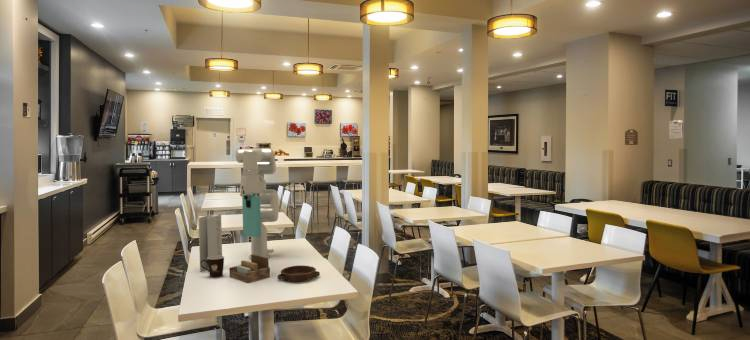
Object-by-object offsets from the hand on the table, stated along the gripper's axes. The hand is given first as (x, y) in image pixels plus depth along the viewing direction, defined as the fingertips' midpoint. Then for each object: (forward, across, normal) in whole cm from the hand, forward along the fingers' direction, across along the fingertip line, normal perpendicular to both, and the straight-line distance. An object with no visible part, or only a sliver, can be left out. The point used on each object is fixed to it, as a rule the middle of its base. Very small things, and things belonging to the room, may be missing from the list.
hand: (251, 206), depth 251 cm
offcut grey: (+37, +8, +3) cm, 38 cm away
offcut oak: (+37, +4, +3) cm, 37 cm away
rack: (+37, +4, +3) cm, 37 cm away
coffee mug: (+37, +15, -14) cm, 42 cm away
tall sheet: (+16, 0, 0) cm, 16 cm away
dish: (+37, -10, +26) cm, 46 cm away
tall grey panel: (+37, +8, -28) cm, 47 cm away
